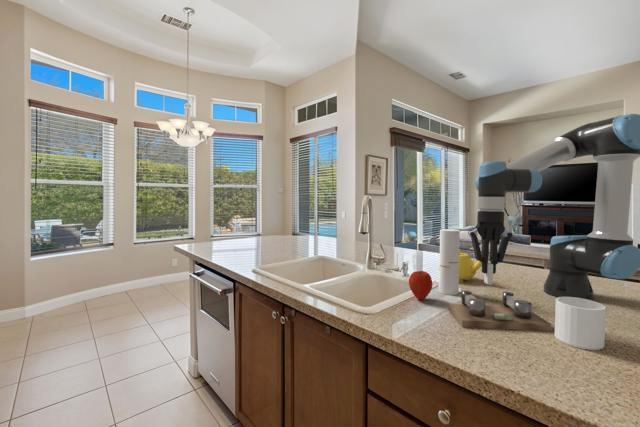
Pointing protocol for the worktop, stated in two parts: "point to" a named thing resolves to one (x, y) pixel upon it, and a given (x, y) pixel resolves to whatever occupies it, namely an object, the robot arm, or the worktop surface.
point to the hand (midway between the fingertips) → (488, 283)
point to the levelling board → (492, 323)
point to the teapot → (467, 267)
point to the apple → (420, 284)
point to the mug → (580, 322)
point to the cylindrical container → (449, 262)
